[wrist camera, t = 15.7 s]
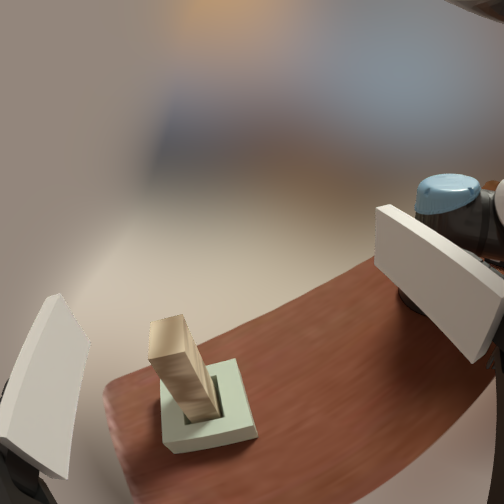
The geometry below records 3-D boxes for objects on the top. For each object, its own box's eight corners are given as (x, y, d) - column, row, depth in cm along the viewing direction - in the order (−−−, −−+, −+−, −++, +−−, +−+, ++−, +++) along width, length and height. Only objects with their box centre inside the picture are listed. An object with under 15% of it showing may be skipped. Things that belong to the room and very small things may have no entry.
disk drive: (517, 274, 47) (517, 246, 55) (520, 265, 45) (519, 237, 53) (483, 263, 54) (487, 237, 62) (485, 253, 52) (489, 228, 60)
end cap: (240, 373, 44) (235, 358, 42) (258, 437, 33) (253, 425, 31) (169, 390, 42) (160, 375, 40) (174, 453, 32) (162, 443, 30)
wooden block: (217, 391, 40) (182, 314, 32) (224, 423, 35) (184, 351, 27) (192, 397, 40) (150, 322, 32) (196, 429, 35) (148, 359, 27)
